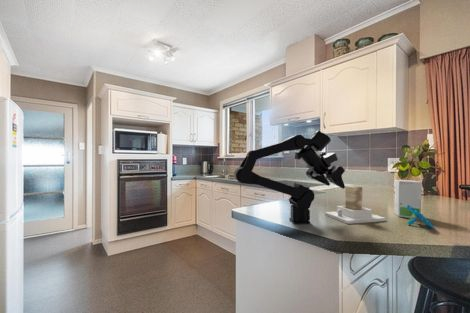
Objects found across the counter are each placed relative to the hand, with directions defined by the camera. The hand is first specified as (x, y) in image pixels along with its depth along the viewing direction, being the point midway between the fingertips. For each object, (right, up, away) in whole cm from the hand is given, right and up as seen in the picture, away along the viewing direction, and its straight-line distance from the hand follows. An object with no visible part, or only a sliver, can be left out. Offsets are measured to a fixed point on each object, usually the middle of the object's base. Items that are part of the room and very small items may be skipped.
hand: (336, 186), depth 93 cm
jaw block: (+8, -12, +2) cm, 15 cm away
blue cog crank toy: (+27, -14, -9) cm, 32 cm away
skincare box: (+33, -14, +5) cm, 36 cm away
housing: (+8, -14, +2) cm, 16 cm away
